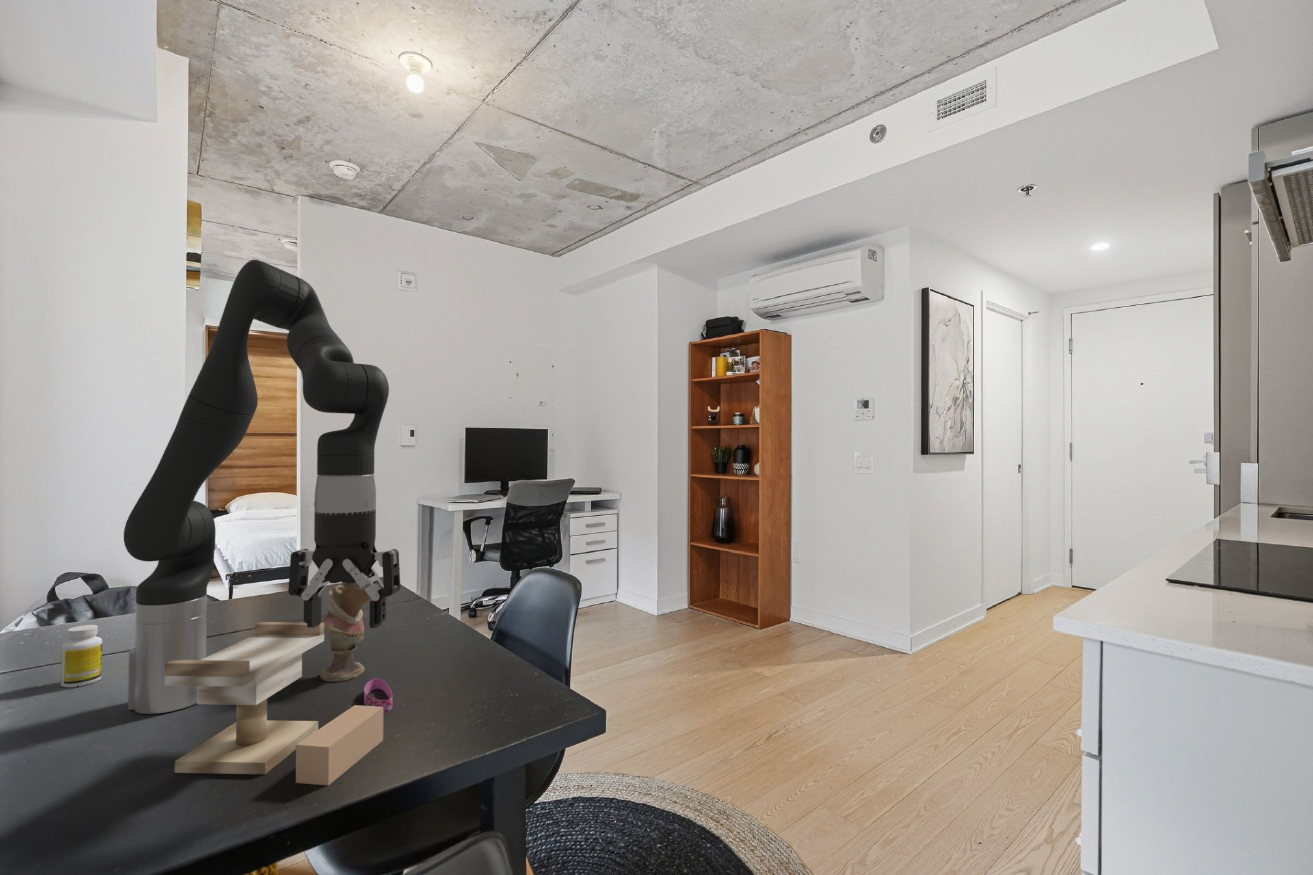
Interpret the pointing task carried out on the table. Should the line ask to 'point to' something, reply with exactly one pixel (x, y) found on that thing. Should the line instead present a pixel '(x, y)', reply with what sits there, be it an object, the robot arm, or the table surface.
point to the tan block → (338, 745)
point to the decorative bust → (344, 630)
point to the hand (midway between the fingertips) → (344, 626)
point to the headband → (369, 701)
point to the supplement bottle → (81, 657)
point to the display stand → (248, 698)
